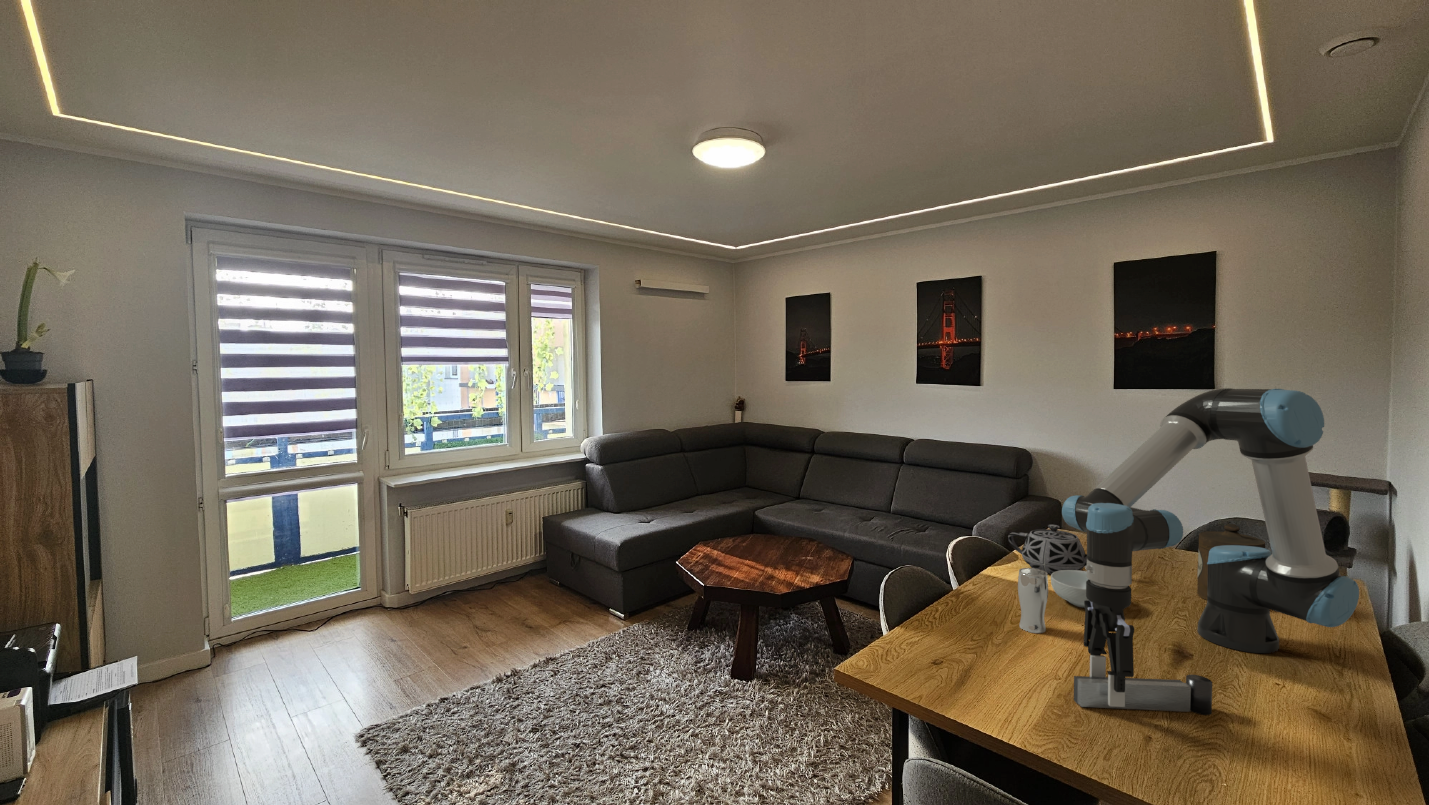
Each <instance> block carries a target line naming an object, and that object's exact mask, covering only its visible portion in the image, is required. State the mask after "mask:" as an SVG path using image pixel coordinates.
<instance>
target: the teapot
mask: <svg viewBox="0 0 1429 805" xmlns="http://www.w3.org/2000/svg"><path fill="white" fill-rule="evenodd" d="M1047 527H1048V528H1046V529H1045V528H1039V529H1033V530H1031V531H1030V532H1029V533H1028V532H1017V531H1013V532H1011V533H1009V534H1008V536H1007V537H1008V538H1007V539H1008V543H1009V544H1010V546H1011V547H1012V548H1013V549H1014V550H1015V551H1016V552H1018V553H1019V554H1020V555H1021V556H1022V559H1023V560H1024V562H1026V564H1028V565H1029V568H1035V569H1039V570H1043V571H1045V572H1046V573H1047V574H1050V575H1051V574H1052V573H1053V572H1056V571H1061V570H1079V571H1082V570H1083V569H1085V566H1087V553H1086V551H1085V548H1084V546H1083V545H1082V544H1083V543H1082V542H1081V540H1080V538H1079V537H1078V536H1077V535H1076V534H1075V533H1072V532H1068V531H1065V530H1059V529H1060V528H1061V527H1060V525H1057V524H1048V525H1047ZM1015 536H1016V537H1017V536H1018V537H1025V538H1026V539H1025V541H1024V543H1023V545H1022V548H1020V547H1019V546H1018V545H1017V544H1016V542H1015V540H1014V537H1015Z"/></svg>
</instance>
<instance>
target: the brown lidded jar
mask: <svg viewBox="0 0 1429 805" xmlns="http://www.w3.org/2000/svg"><path fill="white" fill-rule="evenodd" d="M1223 529H1224V531H1218V530H1217V531H1215V530H1214V531H1213V530H1212V531H1210V530H1209V531H1207V530H1206V531H1202V532H1199V534H1198V556H1197V584H1196V585H1197V595H1198V596H1199V597H1200V598H1201V599H1203V600H1205V601H1207V584H1208V564H1207V562H1208V556H1209V551H1210V549H1211V548H1213V547H1216V546H1224V545H1240V546H1253V547H1260V548H1265V549H1266V542H1265V540H1263V539H1261V538H1258V537H1255V536H1252V535H1251V536H1250V535H1247V534H1242V533H1239V531H1240V527H1239V526H1238V525H1236V524H1233V523H1228V524H1225V525H1223Z"/></svg>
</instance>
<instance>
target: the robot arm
mask: <svg viewBox="0 0 1429 805" xmlns="http://www.w3.org/2000/svg"><path fill="white" fill-rule="evenodd" d="M1320 406H1321V405H1319V403H1318V402H1317V400H1315V399H1314V398H1313V397H1312V396H1311V395H1309V394H1307V393H1306V392H1303V391H1300V390H1296V389H1295V390H1290V389H1284V388H1271V389H1269V388H1229V387H1228V388H1227V387H1225V388H1217V389H1212V390H1209V391H1206V392H1203V393H1201V394H1198V395H1195V396H1194V397H1191V398H1189V399H1187V400H1186V401H1184V402H1183V403H1181V404H1179V405H1178V406H1176V407H1175V408H1173V410H1171V411H1170V412H1169V413H1168V414H1166V416H1165V417H1164V418H1162V419H1161V421H1160V428H1158V429H1157V430H1156V431H1155V432H1154V433H1153V434H1152V435H1151V436H1150V437H1149V438H1148V439H1146V440H1145V441H1144V443H1142V444H1141V445H1140V446H1139V447H1138V448H1137V449H1135V451H1134V452H1132V453H1131V454H1130V455H1129V456H1128V457H1126V459H1125V460H1124V461H1122V462H1121V464H1120V465H1118V466H1117V467H1116V468H1115V469H1114V470H1113V471H1112V472H1111V473H1109V475H1108V476H1107V477H1106V478H1104V479H1103V480H1102V481H1101V482H1100V483H1099V484H1098V485H1097V486H1095V487H1094V488H1093V490H1092V491H1090V492H1089V493H1088V494H1087V495H1086V496H1085V495H1078V494H1077V495H1072V496H1069V497H1068V498H1066V500H1065V501H1064V502H1063V504H1062V508H1061V515H1062V519H1063V520H1064V522H1065V523H1066V524H1067V526H1069V527H1071V528H1074V529H1077V530H1079V531H1082V532H1084V533H1086V554H1087V566H1085V567H1084V569H1085V571H1086V572H1087V578H1088V579H1089V580H1088V581H1086V598H1087V599H1088V600H1085V601H1084V605H1085V608H1084V610H1085V611H1084V613H1085V614H1084V626H1083V627H1084V628H1083V646H1084V647H1085V648H1087V652H1088V653H1089V677H1108V705H1109V706H1114V707H1125V678H1134V677H1135V676H1134V675H1135V674H1134V672H1135V671H1134V639H1133V638H1134V634H1135V627H1134V625H1132V624H1127V623H1126V618H1125V614H1124V613H1125V612H1124V610H1125V609H1126V608H1128V607H1130V606H1131V605H1132V587H1131V585H1132V583H1133V582H1132V580H1133V579H1132V578H1133V572H1132V571H1133V562H1132V561H1133V552H1138V551H1148V550H1157V549H1158V550H1161V549H1162V550H1163V549H1165V548H1169V547H1170V548H1171V547H1173V546H1176V545H1178V544H1179V543H1180V542H1181V540H1182V539H1183V537H1184V527H1183V523H1182V522H1181V520H1180V519H1179V518H1178V516H1177V515H1176V514H1174V513H1173V512H1171V511H1169V510H1165V509H1153V508H1152V509H1150V510H1146V509H1141V508H1136V507H1133V506H1134V505H1135V504H1136V503H1137V502H1138V501H1139V500H1140V499H1141V498H1142V497H1143V496H1144V495H1145V494H1147V492H1149V491H1150V490H1151V489H1152V488H1153V487H1154V486H1155V485H1156V484H1157V483H1158V482H1159V481H1160V480H1161V479H1162V478H1164V477H1165V476H1166V474H1168V473H1169V472H1170V471H1171V470H1172V469H1173V468H1174V467H1175V466H1176V465H1177V464H1178V463H1180V461H1181V460H1183V459H1184V458H1185V457H1186V456H1187V455H1188V454H1189V453H1190V452H1191V451H1192V450H1197V449H1198V450H1199V449H1202V448H1203V447H1204V446H1205V445H1207V443H1209V442H1211V441H1215V440H1226V441H1227V440H1228V441H1236V442H1237V444H1238V448H1239V452H1240V454H1241V455H1242V456H1243V457H1244V458H1247V459H1249V460H1251V463H1252V464H1251V466H1252V467H1253V468H1252V470H1253V473H1254V478H1255V482H1256V486H1257V492H1258V496H1259V500H1260V504H1261V509H1262V514H1263V518H1264V523H1265V526H1266V531H1267V536H1268V540H1269V545H1270V548H1271V550H1270V549H1268V548H1266V547H1265V548H1260V547H1253V546H1240V545H1224V546H1216V547H1213V548H1211V549H1210V551H1209V556H1208V562H1207V564H1208V584H1207V600H1206V604H1205V607H1204V609H1203V611H1202V612H1201V615H1200V617H1199V619H1198V621H1197V633H1198V635H1199V636H1200V637H1202V638H1203V639H1204V640H1207V641H1209V642H1211V643H1213V644H1215V645H1218V646H1221V647H1224V648H1228V649H1231V650H1236V651H1240V652H1245V653H1255V654H1271V652H1272V653H1275V651H1276V652H1278V651H1279V650H1278V649H1280V638H1279V636H1278V634H1277V630H1276V628H1275V626H1274V625H1275V624H1274V623H1273V620H1272V618H1271V611H1273V612H1277V613H1280V614H1284V615H1286V616H1290V617H1293V618H1296V619H1299V620H1302V621H1305V622H1307V623H1309V624H1314V625H1315V624H1316V625H1318V626H1322V627H1326V628H1336V627H1339V626H1341V625H1343V624H1345V623H1346V622H1347V621H1348V620H1349V619H1351V616H1352V615H1353V614H1354V612H1355V610H1356V608H1357V606H1358V603H1359V598H1360V588H1359V584H1358V583H1357V581H1355V580H1354V579H1353V578H1351V577H1349V576H1346V575H1341V573H1340V568H1339V564H1338V562H1337V560H1336V559H1334V558H1333V557H1331V556H1329V555H1328V554H1327V553H1326V549H1325V544H1324V539H1323V535H1322V530H1321V526H1320V521H1319V516H1318V512H1317V511H1318V510H1317V507H1316V501H1315V497H1314V493H1313V487H1312V483H1311V477H1310V472H1309V469H1308V463H1307V459H1306V456H1307V455H1308V454H1310V452H1312V451H1313V450H1314V445H1315V444H1317V443H1318V442H1320V440H1321V438H1322V436H1323V435H1324V431H1323V428H1324V427H1325V418H1324V414H1323V411H1322V408H1321V407H1320ZM1106 643H1107V649H1108V650H1107V651H1108V652H1107V651H1106V650H1105V647H1106ZM1107 654H1108V658H1109V664H1110V665H1109V666H1110V670H1107V668H1106V667H1107V657H1106V655H1107ZM1106 670H1107V672H1106ZM1106 674H1108V676H1106Z"/></svg>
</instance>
